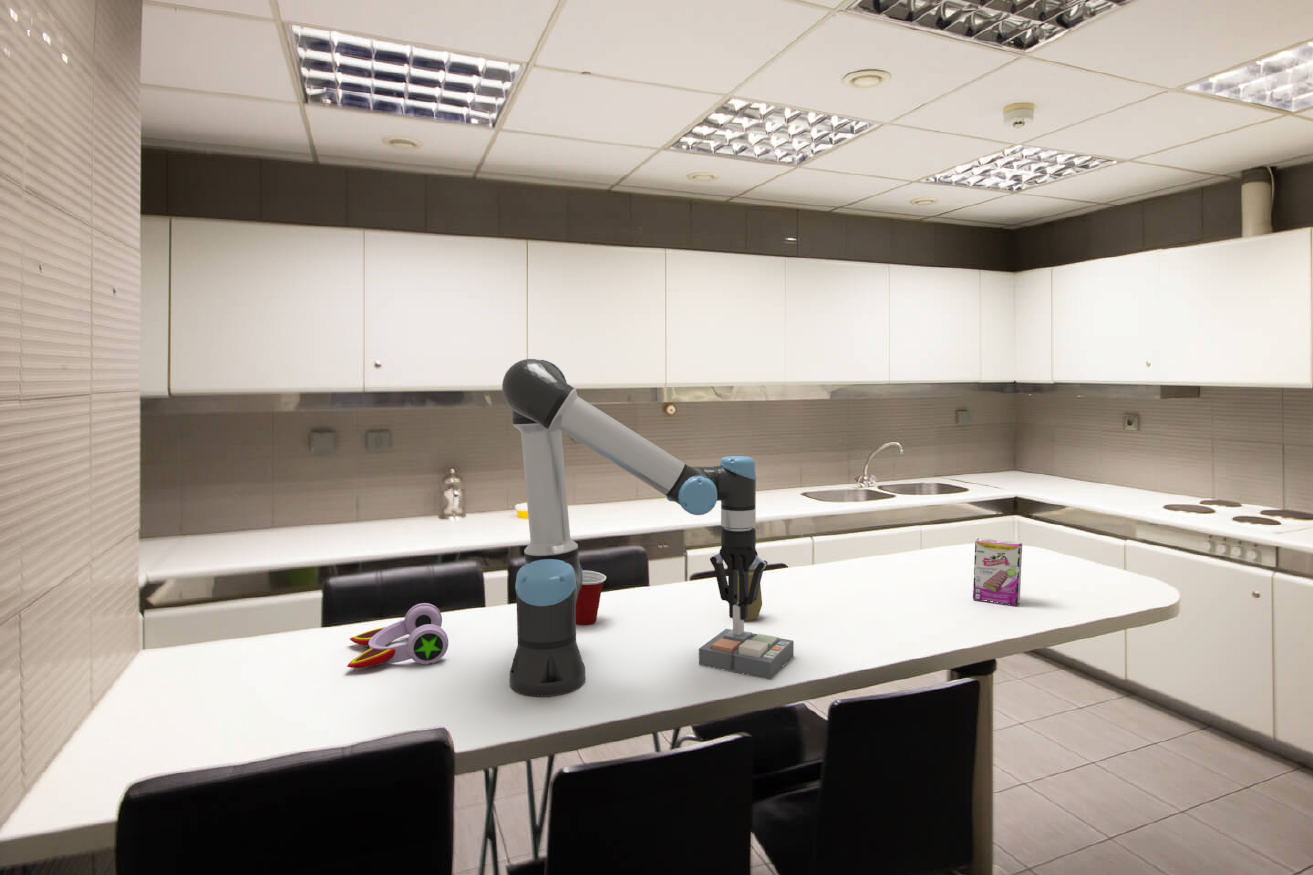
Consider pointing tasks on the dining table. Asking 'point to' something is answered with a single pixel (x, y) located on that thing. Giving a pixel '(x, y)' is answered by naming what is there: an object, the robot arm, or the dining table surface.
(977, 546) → the candy bar box
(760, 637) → the key sage
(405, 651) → the headphones
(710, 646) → the keypad
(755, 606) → the squeeze bottle
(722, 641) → the key terracotta
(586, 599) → the plastic cup
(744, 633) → the key slate
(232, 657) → the dining table surface
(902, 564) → the dining table surface
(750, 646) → the key cream
